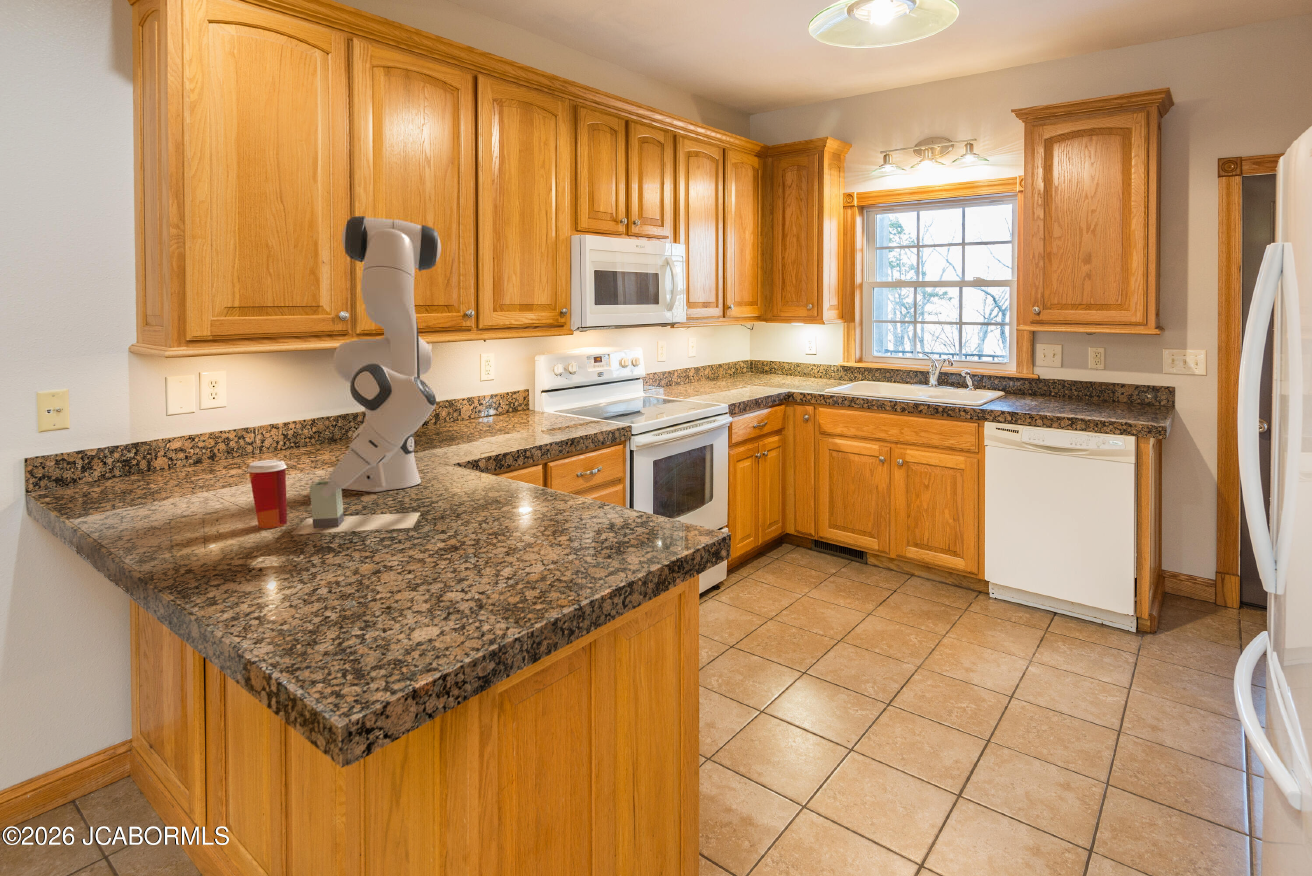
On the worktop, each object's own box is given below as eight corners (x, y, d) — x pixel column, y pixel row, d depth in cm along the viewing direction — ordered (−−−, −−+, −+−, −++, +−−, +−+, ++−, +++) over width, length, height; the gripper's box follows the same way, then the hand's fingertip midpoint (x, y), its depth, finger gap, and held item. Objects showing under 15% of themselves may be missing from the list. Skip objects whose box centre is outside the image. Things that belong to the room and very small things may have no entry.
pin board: (291, 541, 155) (288, 510, 154) (307, 525, 167) (304, 496, 166) (413, 534, 159) (411, 504, 158) (420, 518, 171) (418, 490, 170)
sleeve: (313, 528, 159) (309, 486, 157) (319, 521, 164) (315, 481, 162) (338, 527, 160) (335, 485, 158) (343, 520, 165) (340, 480, 163)
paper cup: (280, 518, 172) (274, 457, 170) (299, 523, 168) (293, 461, 166) (245, 526, 166) (238, 463, 164) (264, 532, 162) (257, 467, 159)
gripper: (372, 424, 170) (329, 469, 170) (352, 441, 150) (304, 491, 150) (394, 443, 171) (352, 487, 171) (377, 462, 152) (329, 512, 152)
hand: (329, 489), depth 161 cm, fingers open, 8 cm apart
